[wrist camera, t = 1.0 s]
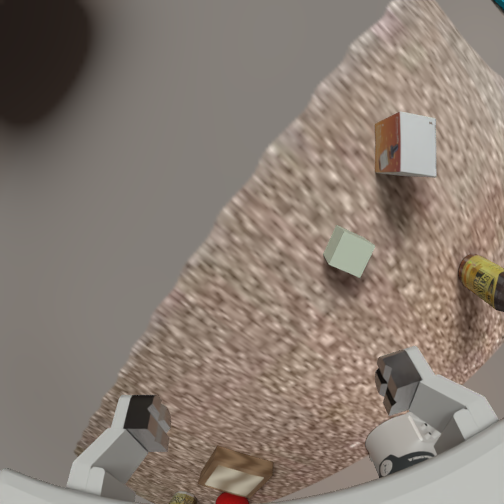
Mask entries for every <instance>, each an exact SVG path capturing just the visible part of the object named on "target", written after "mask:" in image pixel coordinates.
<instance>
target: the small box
mask: <svg viewBox="0 0 504 504" xmlns="http://www.w3.org/2000/svg"><path fill="white" fill-rule="evenodd" d="M375 134H376V152H375V172H376V173H381V174H390V175H399V176H415V177H436V119H435V118H431V117H426V116H421V115H416V114H410V113H405V112H398V113H396V114H393V115H392V116H389V117H387V118H385V119H383V120H381V121H379V122H377V123H376V124H375Z"/></svg>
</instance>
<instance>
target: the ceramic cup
mask: <svg viewBox="0 0 504 504" xmlns="http://www.w3.org/2000/svg"><path fill="white" fill-rule="evenodd" d="M169 504H197V499H196V497H195V496H194V495H193V494H190V493H188V492H182V491H178V492H177V493H175V495H174V496H173V498H172V499H171V501H170V503H169Z"/></svg>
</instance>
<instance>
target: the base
mask: <svg viewBox="0 0 504 504" xmlns="http://www.w3.org/2000/svg"><path fill="white" fill-rule="evenodd" d="M272 473H273V462H272V461H268V460H264V459H260V458H257V457H253V456H249V455H246V454H243V453H239V452H236V451H233V450H230V449H227V448H224V447H221V446H217V447H216V449H215V450H214V452H213V454H212V455H211V457H210V458H209V460H208V462H207V463H206V465H205V466H204V468H203V469H202V471H201V475H200V478H199V482H198V484H200V485H203V486H206V487H210V488H213V489H216V490H220V491H223V492H227V493H230V494H234V495H238V496H242V497H246V498H251V497H252V496H253V495H254V494H255V493H256V492H257V491H258V490H259V489H260V488H261V487H262V486H263V485H264V484H265V483H266V482H267V481H268V480H269V479H270V478H271V477H272Z"/></svg>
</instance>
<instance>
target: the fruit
mask: <svg viewBox="0 0 504 504" xmlns="http://www.w3.org/2000/svg"><path fill="white" fill-rule="evenodd" d="M216 504H249V502H248V500H247V498H246V497H242V496H238V495H234V494H230V493H227V492H224V493H222V494H221V495H220V496H219V497H218V498H217V500H216Z"/></svg>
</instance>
